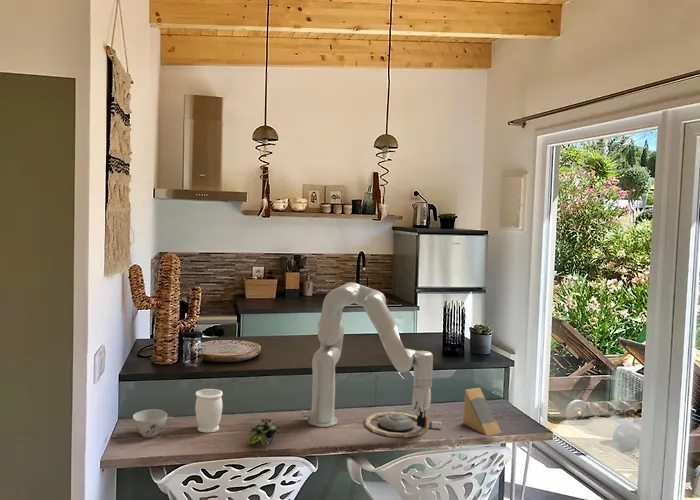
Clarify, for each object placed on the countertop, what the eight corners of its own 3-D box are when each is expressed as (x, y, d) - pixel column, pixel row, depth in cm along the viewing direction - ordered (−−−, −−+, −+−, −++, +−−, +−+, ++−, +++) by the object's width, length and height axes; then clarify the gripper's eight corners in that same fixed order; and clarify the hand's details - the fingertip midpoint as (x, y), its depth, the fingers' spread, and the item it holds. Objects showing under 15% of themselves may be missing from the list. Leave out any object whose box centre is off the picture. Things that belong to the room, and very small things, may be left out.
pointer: (429, 428, 251) (429, 422, 251) (429, 426, 253) (429, 421, 253) (441, 429, 251) (441, 423, 251) (441, 427, 253) (441, 421, 252)
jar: (227, 427, 243) (228, 391, 242) (211, 436, 234) (211, 398, 233) (206, 422, 248) (206, 386, 246) (189, 430, 238) (190, 393, 237)
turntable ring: (383, 440, 236) (384, 425, 236) (355, 418, 259) (356, 404, 259) (438, 432, 247) (439, 418, 246) (407, 411, 270) (407, 398, 270)
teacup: (130, 442, 225) (130, 421, 225) (134, 429, 237) (135, 409, 237) (172, 440, 229) (172, 419, 228) (174, 427, 241) (174, 408, 240)
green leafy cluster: (265, 454, 232) (282, 426, 235) (269, 460, 222) (288, 431, 225) (240, 438, 230) (259, 411, 233) (244, 444, 220) (263, 415, 223)
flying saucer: (419, 424, 256) (419, 411, 256) (406, 436, 243) (407, 422, 242) (386, 417, 263) (387, 405, 262) (372, 428, 249) (373, 415, 249)
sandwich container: (486, 436, 246) (488, 400, 245) (462, 423, 259) (464, 389, 258) (502, 433, 250) (504, 397, 249) (478, 420, 264) (480, 387, 262)
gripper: (420, 376, 253) (419, 418, 254) (407, 385, 239) (405, 430, 241) (437, 378, 249) (436, 422, 251) (425, 388, 236) (423, 433, 237)
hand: (421, 425), depth 246 cm, fingers closed
